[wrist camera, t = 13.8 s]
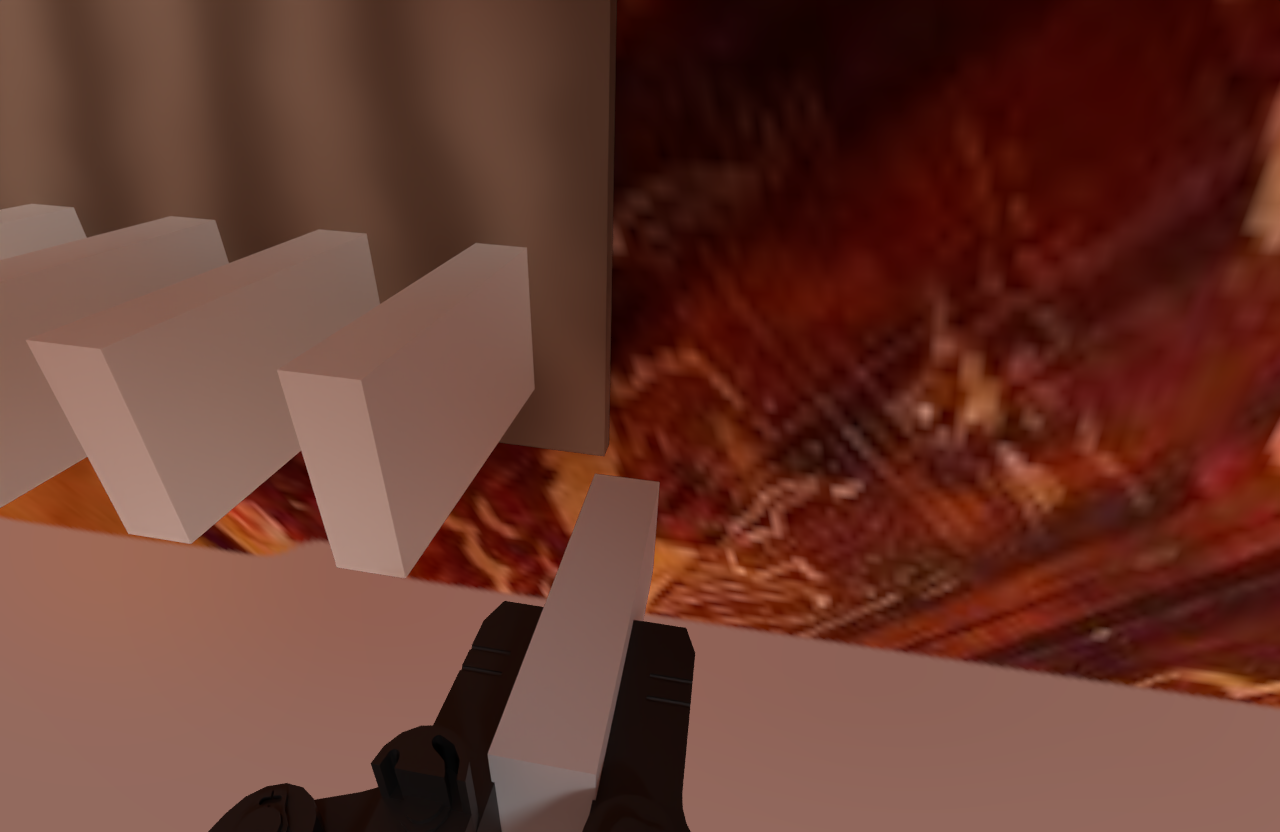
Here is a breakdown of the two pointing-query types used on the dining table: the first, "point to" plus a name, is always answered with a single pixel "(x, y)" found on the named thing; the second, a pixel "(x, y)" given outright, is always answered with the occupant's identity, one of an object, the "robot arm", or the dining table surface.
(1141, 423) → the dining table surface
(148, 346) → the domino
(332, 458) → the loose domino
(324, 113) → the walnut board
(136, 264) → the domino
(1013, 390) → the dining table surface
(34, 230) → the domino
